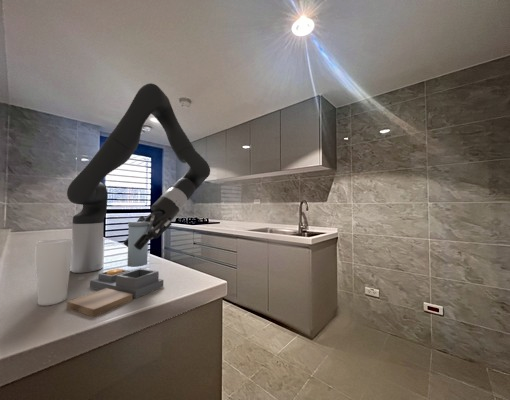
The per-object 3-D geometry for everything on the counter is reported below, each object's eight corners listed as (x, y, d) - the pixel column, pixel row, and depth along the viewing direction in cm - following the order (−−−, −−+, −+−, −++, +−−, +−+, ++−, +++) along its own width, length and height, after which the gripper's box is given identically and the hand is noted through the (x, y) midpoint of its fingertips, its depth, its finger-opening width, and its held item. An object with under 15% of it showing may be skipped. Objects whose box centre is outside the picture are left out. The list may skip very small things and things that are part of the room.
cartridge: (122, 265, 61) (124, 222, 61) (139, 261, 66) (140, 221, 66) (135, 267, 59) (137, 223, 59) (151, 263, 63) (152, 222, 64)
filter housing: (89, 287, 63) (90, 271, 63) (119, 278, 71) (120, 264, 72) (135, 298, 56) (136, 280, 56) (163, 286, 64) (163, 271, 64)
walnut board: (66, 307, 50) (67, 301, 50) (106, 293, 59) (106, 288, 59) (93, 316, 46) (93, 309, 47) (132, 300, 55) (132, 294, 55)
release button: (103, 278, 65) (103, 271, 65) (116, 274, 68) (116, 268, 68) (112, 280, 63) (112, 273, 63) (125, 276, 67) (125, 269, 67)
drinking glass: (36, 311, 49) (38, 244, 49) (30, 302, 53) (32, 241, 53) (74, 300, 54) (75, 240, 55) (66, 294, 58) (68, 237, 59)
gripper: (150, 195, 73) (109, 235, 62) (177, 195, 65) (135, 241, 55) (163, 211, 77) (127, 251, 67) (191, 212, 69) (155, 258, 59)
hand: (131, 246), depth 61 cm, fingers closed on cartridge, 5 cm apart
